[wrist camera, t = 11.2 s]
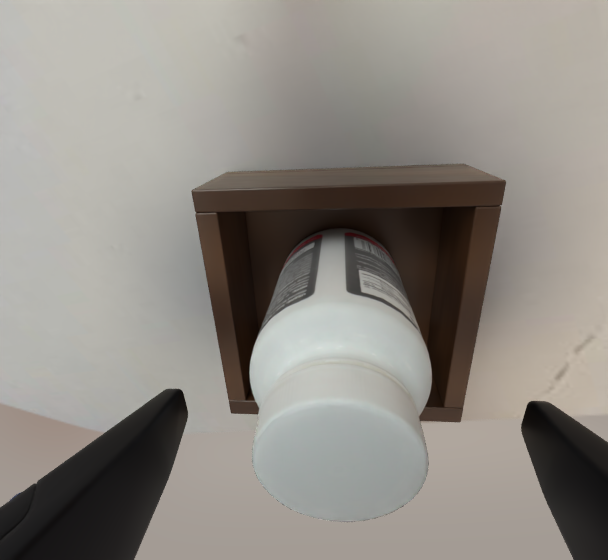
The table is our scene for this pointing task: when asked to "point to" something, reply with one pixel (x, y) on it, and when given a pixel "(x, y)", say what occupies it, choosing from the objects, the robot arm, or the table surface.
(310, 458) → the pill bottle
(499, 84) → the table surface
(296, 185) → the holder
